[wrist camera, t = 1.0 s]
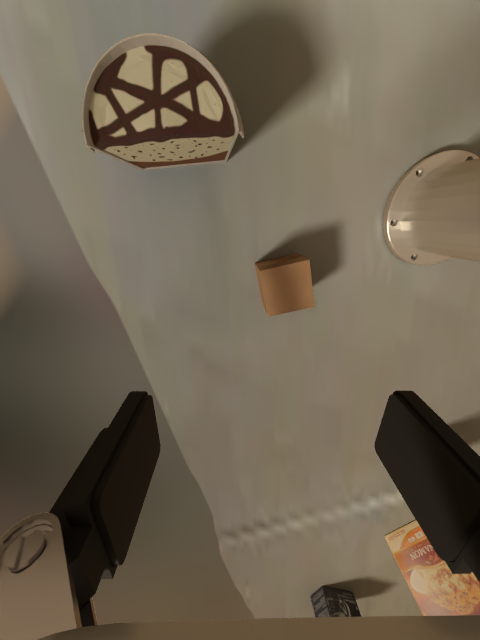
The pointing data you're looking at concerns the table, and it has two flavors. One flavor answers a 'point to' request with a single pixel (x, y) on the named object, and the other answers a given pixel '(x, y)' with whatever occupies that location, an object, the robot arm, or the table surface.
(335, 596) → the box
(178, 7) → the table surface
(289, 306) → the walnut block
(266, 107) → the table surface
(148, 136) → the food container
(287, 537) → the table surface
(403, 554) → the coffeecake box
